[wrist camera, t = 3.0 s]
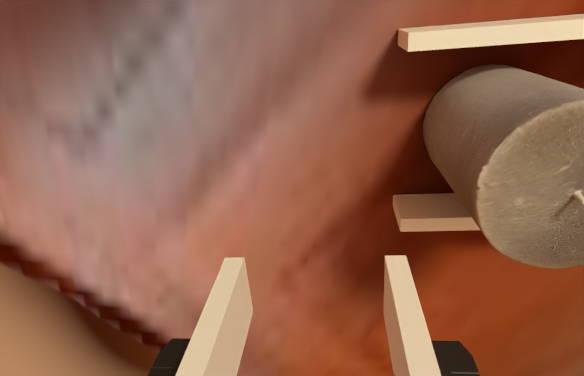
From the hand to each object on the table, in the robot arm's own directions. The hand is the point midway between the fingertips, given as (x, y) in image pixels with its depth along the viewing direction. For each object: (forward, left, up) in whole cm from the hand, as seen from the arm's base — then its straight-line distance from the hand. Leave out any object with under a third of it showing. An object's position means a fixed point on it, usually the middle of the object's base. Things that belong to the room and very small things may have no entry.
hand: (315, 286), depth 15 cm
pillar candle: (+13, 0, -21) cm, 25 cm away
